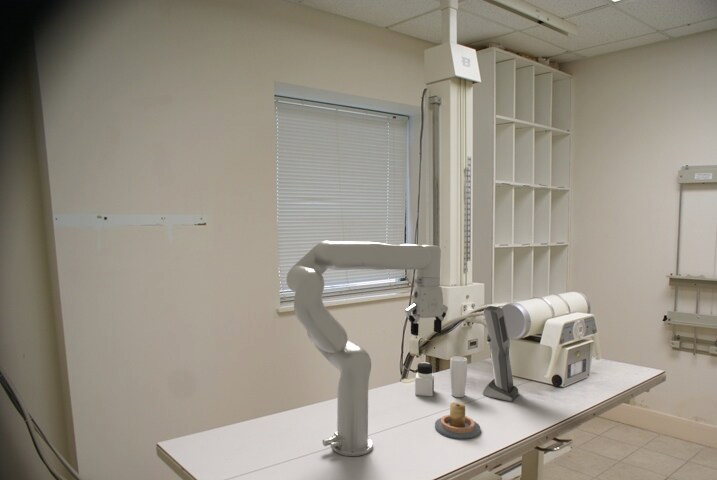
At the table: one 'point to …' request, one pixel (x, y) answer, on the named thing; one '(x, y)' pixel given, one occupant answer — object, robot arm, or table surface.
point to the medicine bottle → (424, 380)
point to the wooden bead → (457, 415)
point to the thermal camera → (499, 356)
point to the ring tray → (457, 436)
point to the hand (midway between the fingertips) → (426, 333)
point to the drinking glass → (458, 375)
